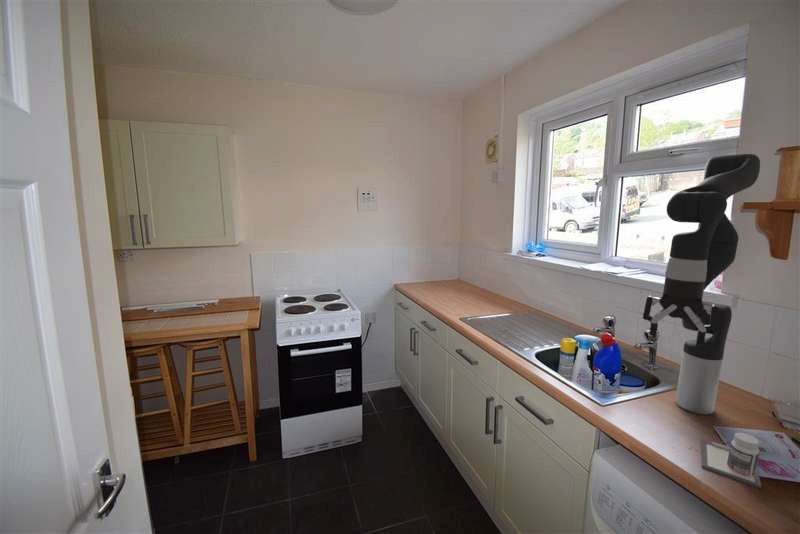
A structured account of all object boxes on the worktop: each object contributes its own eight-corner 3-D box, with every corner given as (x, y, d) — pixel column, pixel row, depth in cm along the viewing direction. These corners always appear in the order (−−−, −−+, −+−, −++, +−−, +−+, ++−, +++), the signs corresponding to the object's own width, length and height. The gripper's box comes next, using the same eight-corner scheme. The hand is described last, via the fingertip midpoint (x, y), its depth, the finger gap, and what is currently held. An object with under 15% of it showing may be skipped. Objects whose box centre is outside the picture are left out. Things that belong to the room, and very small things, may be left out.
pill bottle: (740, 462, 85) (746, 431, 84) (760, 477, 81) (767, 444, 79) (721, 463, 85) (727, 431, 84) (740, 478, 81) (747, 444, 79)
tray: (701, 442, 94) (701, 437, 94) (753, 459, 88) (754, 454, 88) (702, 467, 85) (702, 462, 85) (761, 488, 79) (762, 483, 78)
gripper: (723, 278, 84) (712, 344, 87) (650, 271, 93) (642, 330, 96) (726, 283, 78) (713, 353, 81) (647, 275, 87) (639, 338, 90)
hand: (675, 341), depth 88 cm, fingers open, 8 cm apart
